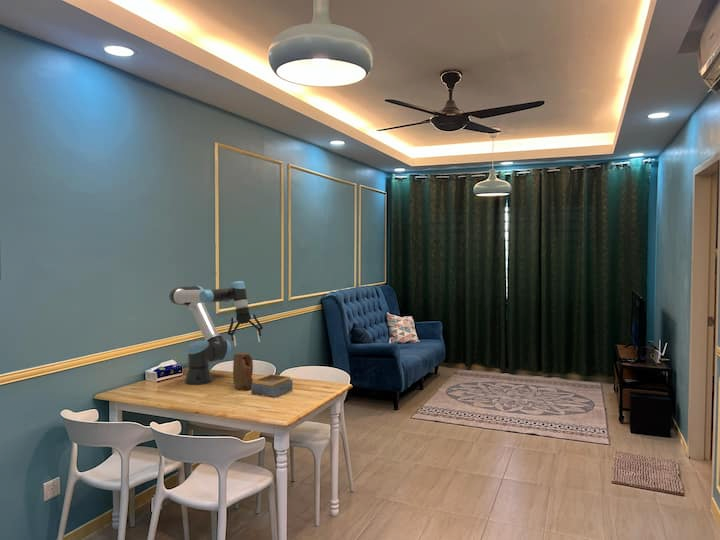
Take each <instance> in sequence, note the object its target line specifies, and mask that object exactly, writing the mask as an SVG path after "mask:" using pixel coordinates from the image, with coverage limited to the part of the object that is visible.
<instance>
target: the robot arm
mask: <svg viewBox="0 0 720 540" xmlns="http://www.w3.org/2000/svg"><path fill="white" fill-rule="evenodd" d="M247 296H248V295H247V288H246V284H245V281H243V280H239V281H233V282H232V283H231V287H228V288H216V289H215V288H211V289H205V288H203V286H200V285H192V286H177V287H175V288H172V290H170V292H169V295H168V299H169V301H170V303H172V304H173V305H176V306H186V308H187V309H188V310H189V311H191V313H192V315H193V317H194V319H195V321H196V324H197V325H198V327H199V330H200V332H201V334H202V337H203V339H204V340H197V341H193V342H192V343H189V345H188V348H187V349H188V350H187V354H188V355H187V358H188V360H187V365H188V368H187V369H188V370H187V373H186V377H185V379H184V380H185V381H184V382H185V384H187V385H206V384H209V383H211V382H212V381H213V376H212V374H211V372H210V371H211V370H210V363H211V362H218V361H223V360H226V359H228V358H229V357H230V355H231V353H232V345H231V342H230V341H229V340H228V339H224V338H223V337H224V336H222V335H221V334H219V332H218V331H217V328H216V326H215V324H214V322H213V320H212V317H211V315H210V314H209V310H208V309H207V307H206V305H205V304H210V303H220V302H221V303H222V302H224V303H228V302H231V301H233V302H234V308H235V315H236V316H235V317H231V318H230V321H231V322H230V325H229V328H228V329H227V330H228V331H227V335H228V336H230V337H231V341H232V342H233V344H234V347H237V339H236V335H235V333H236V331H237V330H238V328H239V326H240V325H244V324H248V323H249V324H250V325H251V326H253V327H254V328H255V329H257V331H256V334H257V341H258V343H261V339H260V337H261V336H262V331H261V330H264V327H263V325H262V323H261V322H260V321H259V320H258V319H257V316H256V314H255V313H253V314H250V310H249V309H250V307H249V302H248V297H247ZM251 319H254V321H255V322H256V324H257V325H256V324H255V323H254V322H253V321H251ZM235 322H237V323H236V325H235V327H234V323H235ZM258 326H259V327H258ZM233 327H234V328H233ZM232 328H233V329H232Z"/></svg>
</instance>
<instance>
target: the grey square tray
mask: <svg viewBox="0 0 720 540" xmlns="http://www.w3.org/2000/svg"><path fill="white" fill-rule="evenodd" d="M289 391H290V392H292V391H293V379H291V376H286V375H285V376H284V375H280V374H271V373H270V374H268V375H265V376H262V377H260V378H257V379H253V381H252V383H251V392H250V393H252V394H251V395H256V394H258V395H257V396H263V395H264V397H269V396H271V398H275V397H276V398H278V397H280V395H281V396H282V394H283V395H286V394H288V393H290V392H289ZM287 392H288V393H287ZM277 396H278V397H277Z"/></svg>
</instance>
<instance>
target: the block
mask: <svg viewBox="0 0 720 540" xmlns="http://www.w3.org/2000/svg"><path fill="white" fill-rule="evenodd" d="M251 355H252V354H250V353H249V352H236V353H234V355H233V363H232V365H233V366H232V368H233V369H232V382H233V384H234V385H233V386H234V388H235V389H236V390H241V391H242V390H243V391H246V390H250V389H251V383H252V382H253V377H252V376H253V371H254V362H253V357H252V356H251Z"/></svg>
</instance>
